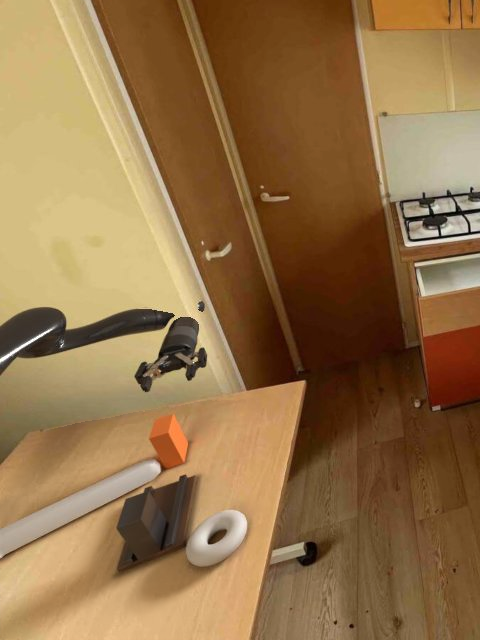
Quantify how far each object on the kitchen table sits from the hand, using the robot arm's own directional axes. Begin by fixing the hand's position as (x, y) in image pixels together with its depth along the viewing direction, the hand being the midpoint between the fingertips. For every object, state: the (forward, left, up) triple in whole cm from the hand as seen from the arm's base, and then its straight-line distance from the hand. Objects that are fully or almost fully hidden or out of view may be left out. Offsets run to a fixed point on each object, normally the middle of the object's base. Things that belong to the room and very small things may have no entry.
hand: (167, 383), depth 102 cm
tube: (-14, -18, -13) cm, 26 cm away
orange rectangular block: (0, -11, -13) cm, 17 cm away
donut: (+11, -38, -13) cm, 42 cm away
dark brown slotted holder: (0, -28, -13) cm, 31 cm away
